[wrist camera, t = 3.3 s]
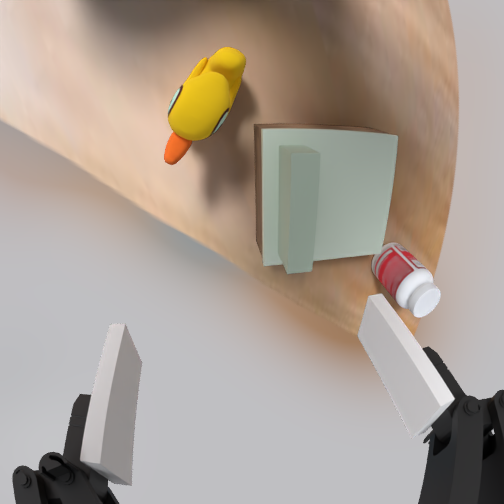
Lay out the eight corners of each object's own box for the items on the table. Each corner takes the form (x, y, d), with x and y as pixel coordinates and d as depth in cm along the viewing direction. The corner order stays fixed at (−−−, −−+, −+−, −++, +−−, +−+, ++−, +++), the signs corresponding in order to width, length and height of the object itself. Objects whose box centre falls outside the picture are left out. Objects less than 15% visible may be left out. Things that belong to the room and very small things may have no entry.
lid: (262, 262, 31) (271, 289, 27) (261, 128, 24) (272, 134, 20) (377, 250, 33) (397, 271, 29) (394, 134, 26) (422, 143, 22)
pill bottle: (368, 280, 42) (404, 328, 32) (370, 246, 39) (412, 292, 29) (401, 270, 42) (439, 313, 33) (404, 236, 39) (449, 277, 30)
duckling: (200, 158, 30) (197, 184, 21) (156, 137, 28) (134, 154, 19) (254, 69, 26) (276, 56, 17) (210, 46, 24) (212, 21, 15)
